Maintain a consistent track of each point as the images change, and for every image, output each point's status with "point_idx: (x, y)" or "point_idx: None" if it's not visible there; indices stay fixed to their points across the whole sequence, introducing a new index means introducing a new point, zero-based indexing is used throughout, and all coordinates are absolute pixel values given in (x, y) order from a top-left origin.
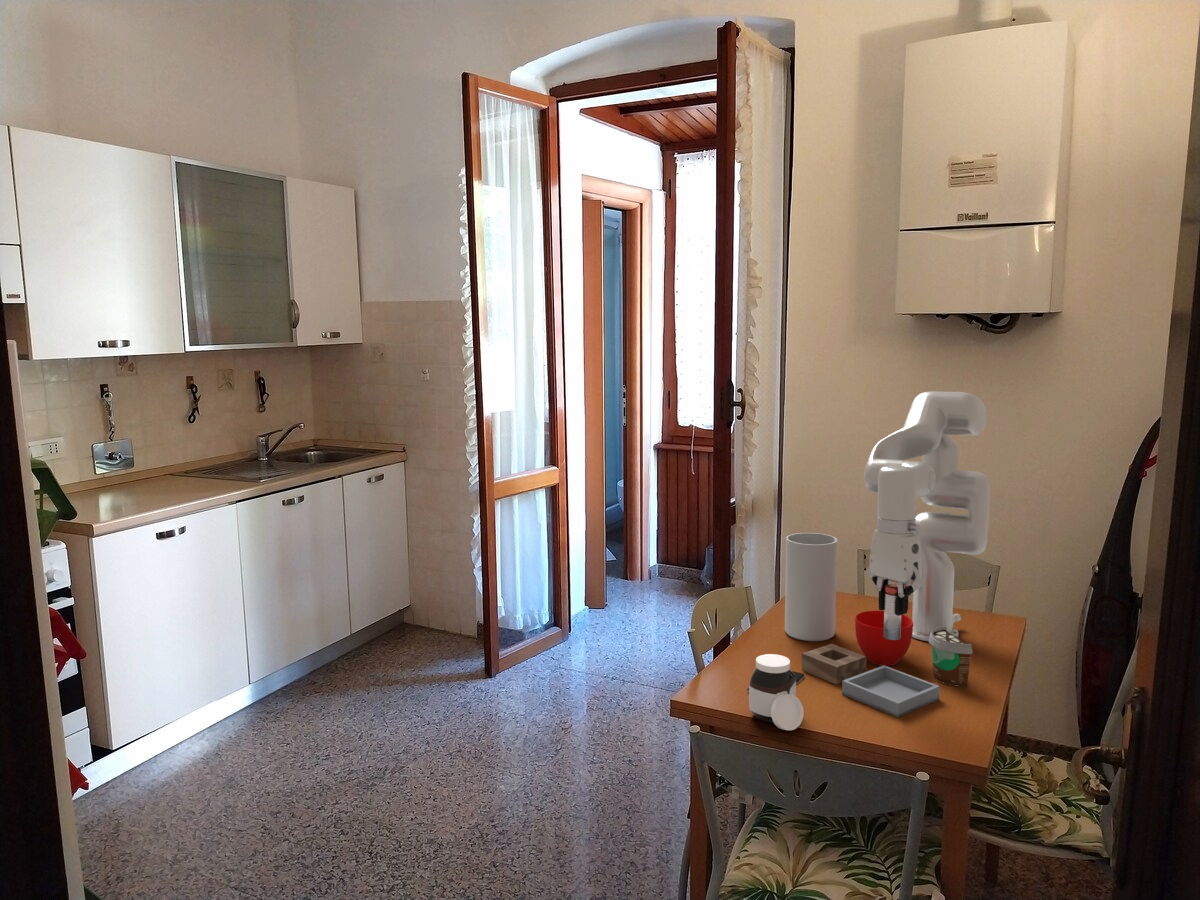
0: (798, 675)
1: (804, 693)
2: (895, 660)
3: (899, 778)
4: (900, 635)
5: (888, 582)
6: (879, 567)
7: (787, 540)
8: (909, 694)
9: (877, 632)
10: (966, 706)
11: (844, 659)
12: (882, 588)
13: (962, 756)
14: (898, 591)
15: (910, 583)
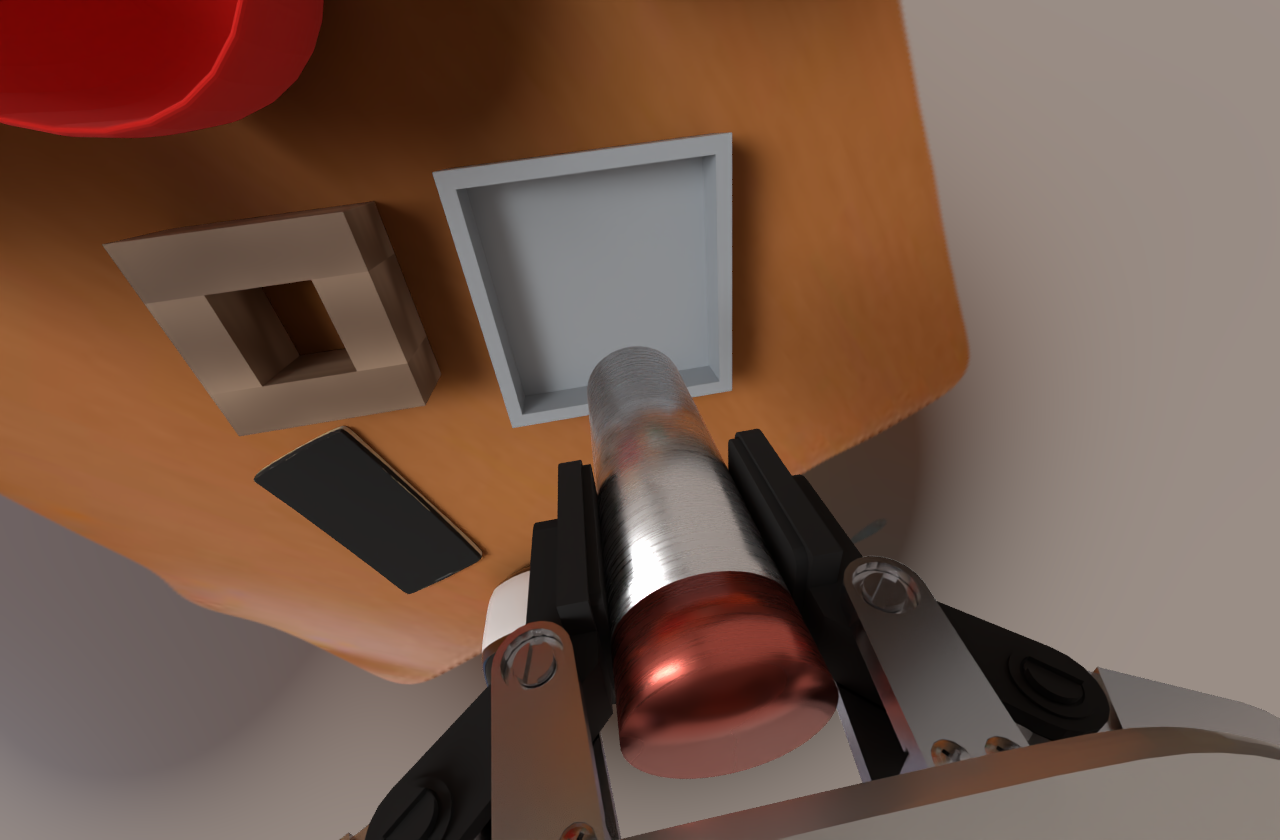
0: (348, 451)
1: (469, 485)
2: None
3: (871, 529)
4: (678, 371)
5: (591, 739)
6: None
7: None
8: (640, 226)
9: (223, 103)
10: (810, 82)
11: (353, 330)
12: (595, 722)
13: (930, 379)
14: (844, 717)
15: (1011, 724)
